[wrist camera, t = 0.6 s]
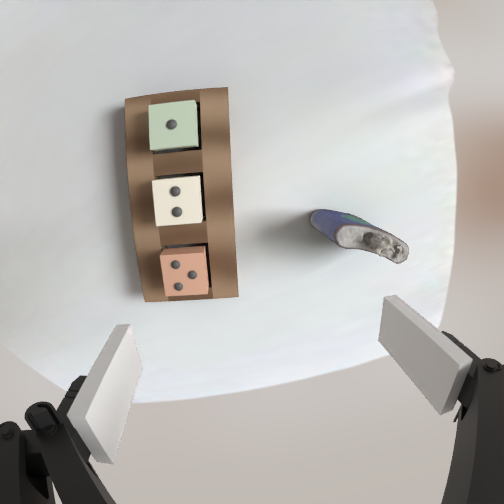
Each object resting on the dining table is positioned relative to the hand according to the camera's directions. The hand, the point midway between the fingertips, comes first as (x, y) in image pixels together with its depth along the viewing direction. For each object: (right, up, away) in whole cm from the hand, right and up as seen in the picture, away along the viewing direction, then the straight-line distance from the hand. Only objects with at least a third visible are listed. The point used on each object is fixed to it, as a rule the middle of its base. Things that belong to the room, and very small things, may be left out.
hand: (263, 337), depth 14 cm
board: (-8, +11, +19) cm, 23 cm away
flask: (+11, +8, +22) cm, 26 cm away
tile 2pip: (-8, +10, +16) cm, 20 cm away
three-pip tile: (-8, +3, +18) cm, 20 cm away
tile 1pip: (-8, +17, +14) cm, 23 cm away
